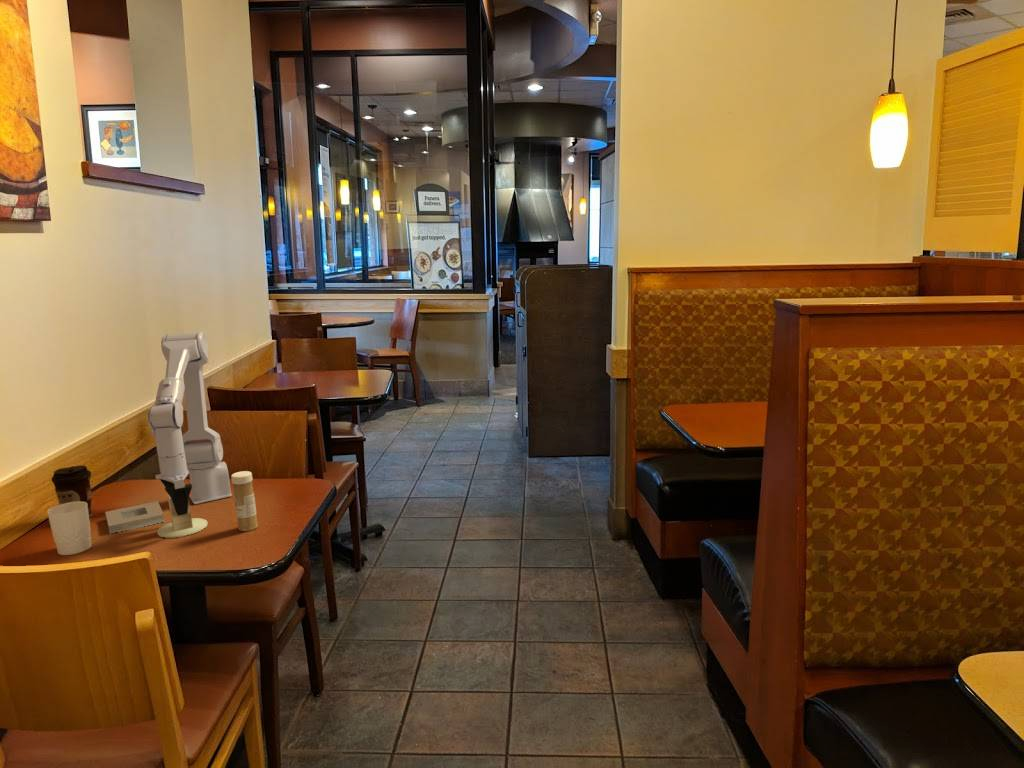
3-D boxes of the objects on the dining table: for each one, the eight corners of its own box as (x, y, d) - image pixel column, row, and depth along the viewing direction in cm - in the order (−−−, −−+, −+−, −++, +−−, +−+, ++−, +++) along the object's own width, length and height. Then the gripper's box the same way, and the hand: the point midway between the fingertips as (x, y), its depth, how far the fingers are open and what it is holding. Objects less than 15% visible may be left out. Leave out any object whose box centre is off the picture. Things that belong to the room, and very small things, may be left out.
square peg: (190, 522, 183) (185, 490, 182) (192, 527, 180) (188, 495, 178) (172, 526, 181) (167, 494, 180) (174, 531, 178) (169, 499, 176)
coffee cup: (79, 525, 187) (70, 474, 185) (51, 524, 189) (41, 474, 186) (105, 512, 196) (96, 463, 193) (77, 511, 197) (68, 463, 195)
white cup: (65, 543, 176) (57, 502, 174) (100, 540, 176) (93, 500, 174) (48, 558, 168) (39, 515, 166) (85, 555, 169) (77, 512, 167)
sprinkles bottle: (234, 529, 179) (226, 474, 176) (251, 523, 182) (244, 469, 179) (245, 533, 176) (237, 477, 173) (262, 526, 179) (255, 472, 176)
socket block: (158, 508, 196) (157, 500, 196) (164, 521, 186) (163, 514, 186) (106, 519, 190) (105, 511, 190) (110, 534, 180) (108, 526, 180)
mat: (203, 516, 188) (203, 514, 188) (211, 530, 179) (211, 528, 179) (154, 527, 183) (154, 525, 183) (160, 542, 173) (160, 540, 173)
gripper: (149, 450, 181) (157, 504, 184) (156, 465, 169) (165, 522, 172) (180, 445, 185) (188, 498, 187) (190, 458, 172) (198, 515, 175)
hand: (180, 509), depth 180 cm, fingers open, 7 cm apart
